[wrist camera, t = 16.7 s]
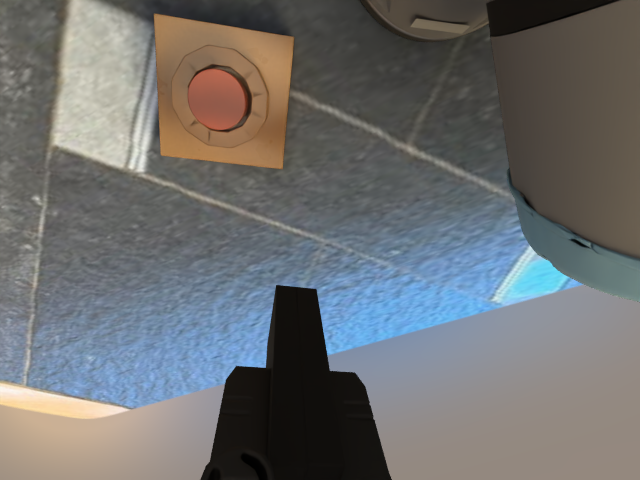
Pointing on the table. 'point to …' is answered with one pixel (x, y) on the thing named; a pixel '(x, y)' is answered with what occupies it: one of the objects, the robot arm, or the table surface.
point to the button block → (242, 61)
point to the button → (217, 99)
